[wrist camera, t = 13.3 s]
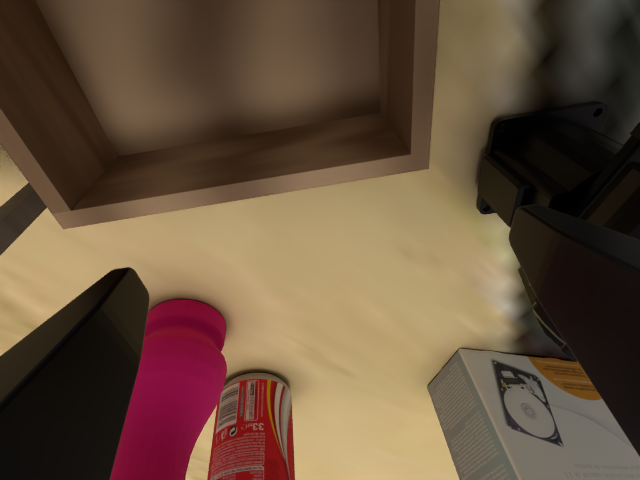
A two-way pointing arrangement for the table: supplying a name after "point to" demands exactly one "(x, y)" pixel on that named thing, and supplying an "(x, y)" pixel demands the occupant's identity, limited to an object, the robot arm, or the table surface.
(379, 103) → the open wooden box
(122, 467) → the pepper mill
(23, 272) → the table surface
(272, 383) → the soda can
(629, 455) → the hard drive box
